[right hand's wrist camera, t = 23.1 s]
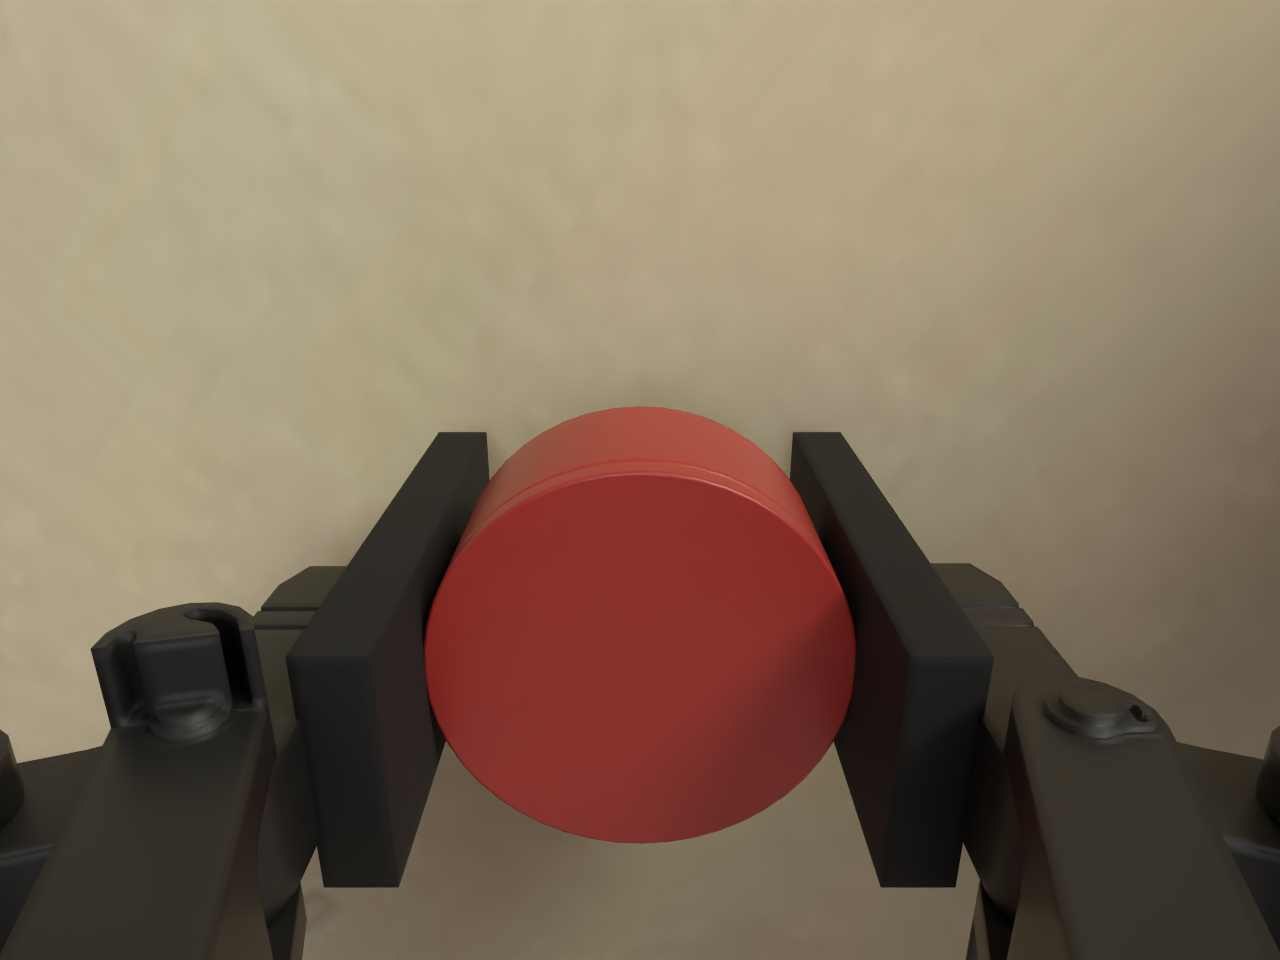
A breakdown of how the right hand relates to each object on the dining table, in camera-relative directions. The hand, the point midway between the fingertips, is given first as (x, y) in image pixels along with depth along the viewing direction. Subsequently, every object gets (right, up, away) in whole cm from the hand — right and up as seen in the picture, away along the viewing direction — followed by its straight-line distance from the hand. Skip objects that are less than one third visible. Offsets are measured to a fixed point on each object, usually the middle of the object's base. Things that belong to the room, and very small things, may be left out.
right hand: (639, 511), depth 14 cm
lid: (0, -2, -4) cm, 4 cm away
